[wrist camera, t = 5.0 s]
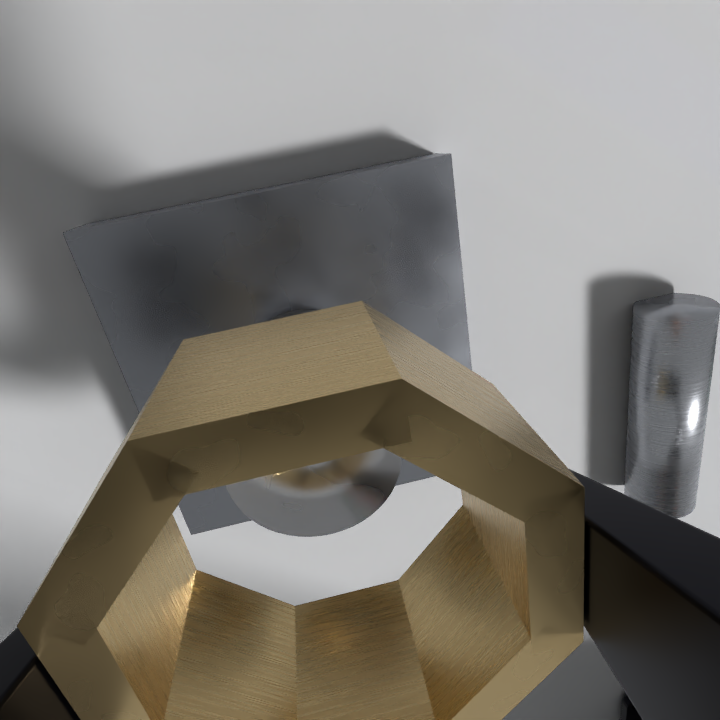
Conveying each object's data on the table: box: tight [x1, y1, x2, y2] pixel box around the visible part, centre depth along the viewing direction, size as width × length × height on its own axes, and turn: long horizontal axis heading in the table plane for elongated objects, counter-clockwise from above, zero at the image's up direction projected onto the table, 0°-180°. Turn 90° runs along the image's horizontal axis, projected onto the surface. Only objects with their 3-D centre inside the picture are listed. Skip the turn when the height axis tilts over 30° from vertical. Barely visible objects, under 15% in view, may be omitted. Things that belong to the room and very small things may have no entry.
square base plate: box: [63, 153, 472, 537], centre depth 13 cm, size 10×10×6 cm
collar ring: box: [17, 301, 585, 720], centre depth 8 cm, size 7×7×3 cm
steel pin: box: [624, 293, 720, 518], centre depth 18 cm, size 8×2×2 cm
